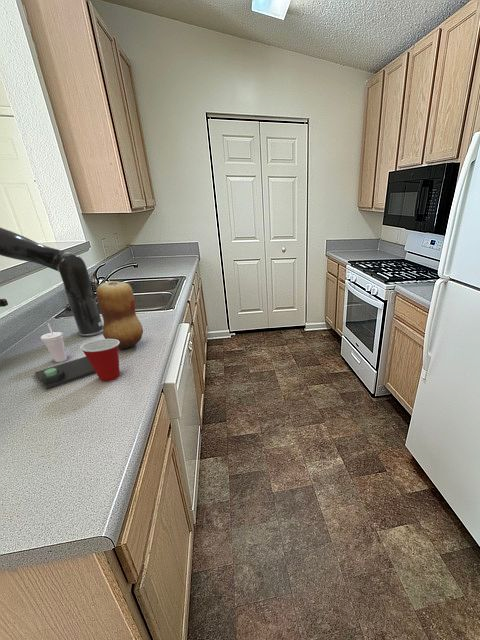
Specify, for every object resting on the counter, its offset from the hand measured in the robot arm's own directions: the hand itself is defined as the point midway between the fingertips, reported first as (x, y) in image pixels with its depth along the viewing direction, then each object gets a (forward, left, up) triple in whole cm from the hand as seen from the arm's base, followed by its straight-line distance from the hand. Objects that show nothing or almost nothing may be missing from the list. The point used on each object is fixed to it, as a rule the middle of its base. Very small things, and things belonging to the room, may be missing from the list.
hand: (5, 302), depth 109 cm
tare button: (+23, +2, -19) cm, 30 cm away
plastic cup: (+33, +15, -22) cm, 43 cm away
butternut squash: (+13, +29, -22) cm, 39 cm away
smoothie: (+6, +8, -22) cm, 24 cm away
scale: (+20, +7, -22) cm, 31 cm away
